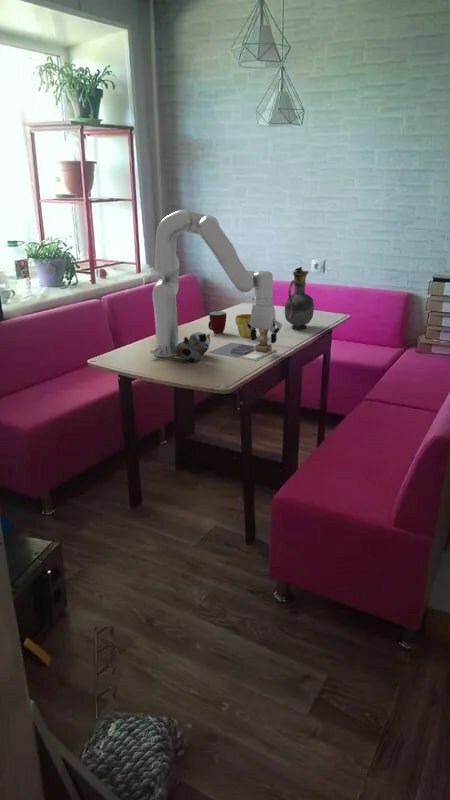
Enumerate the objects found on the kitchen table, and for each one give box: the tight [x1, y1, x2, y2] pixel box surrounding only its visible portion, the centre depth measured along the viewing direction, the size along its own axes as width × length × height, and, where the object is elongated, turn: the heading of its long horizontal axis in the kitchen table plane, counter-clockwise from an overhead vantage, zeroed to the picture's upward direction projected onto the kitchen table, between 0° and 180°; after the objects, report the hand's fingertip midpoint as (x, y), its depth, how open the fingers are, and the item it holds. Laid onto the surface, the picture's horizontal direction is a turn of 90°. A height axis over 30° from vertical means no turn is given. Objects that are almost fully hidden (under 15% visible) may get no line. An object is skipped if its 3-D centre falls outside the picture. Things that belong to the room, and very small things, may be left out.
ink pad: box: [230, 343, 256, 355], centre depth 256 cm, size 9×7×2 cm
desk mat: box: [207, 342, 277, 363], centre depth 256 cm, size 18×24×1 cm
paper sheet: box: [239, 348, 277, 361], centre depth 252 cm, size 17×8×1 cm, turn 146°
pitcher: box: [284, 266, 315, 331], centre depth 286 cm, size 11×19×30 cm, turn 147°
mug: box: [208, 310, 227, 335], centre depth 284 cm, size 11×8×10 cm
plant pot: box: [234, 313, 251, 339], centre depth 279 cm, size 10×10×10 cm
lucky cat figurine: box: [173, 331, 211, 363], centre depth 248 cm, size 15×12×14 cm
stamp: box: [255, 329, 273, 353], centre depth 253 cm, size 5×5×11 cm
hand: (263, 341), depth 254 cm, fingers open, 9 cm apart
